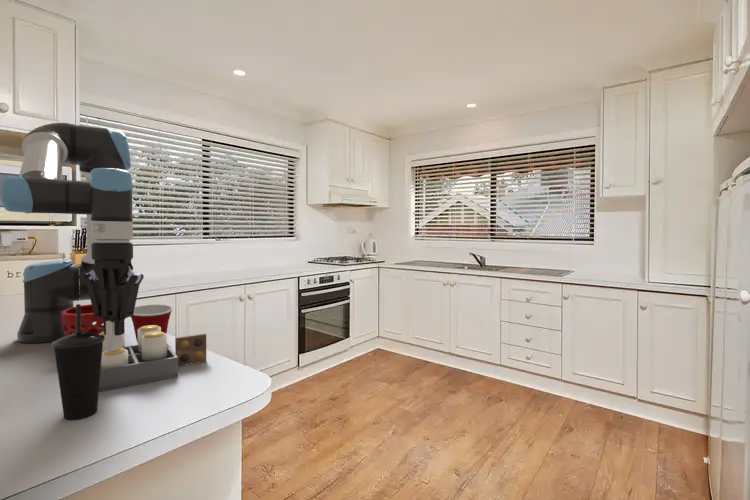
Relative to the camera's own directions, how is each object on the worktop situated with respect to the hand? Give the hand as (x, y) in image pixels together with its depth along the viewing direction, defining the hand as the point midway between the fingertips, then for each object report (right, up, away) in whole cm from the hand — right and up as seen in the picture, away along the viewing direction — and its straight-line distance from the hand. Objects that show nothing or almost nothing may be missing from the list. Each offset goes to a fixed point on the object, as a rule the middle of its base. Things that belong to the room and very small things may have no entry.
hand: (114, 349), depth 87 cm
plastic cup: (-5, -6, +23) cm, 24 cm away
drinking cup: (+3, -8, -15) cm, 17 cm away
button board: (+1, -7, +6) cm, 9 cm away
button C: (0, -6, 0) cm, 6 cm away
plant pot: (-21, -6, +22) cm, 31 cm away
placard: (+11, -7, +13) cm, 18 cm away
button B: (+1, -3, +11) cm, 11 cm away
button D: (+6, -3, +5) cm, 8 cm away
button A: (-5, -3, +6) cm, 8 cm away
